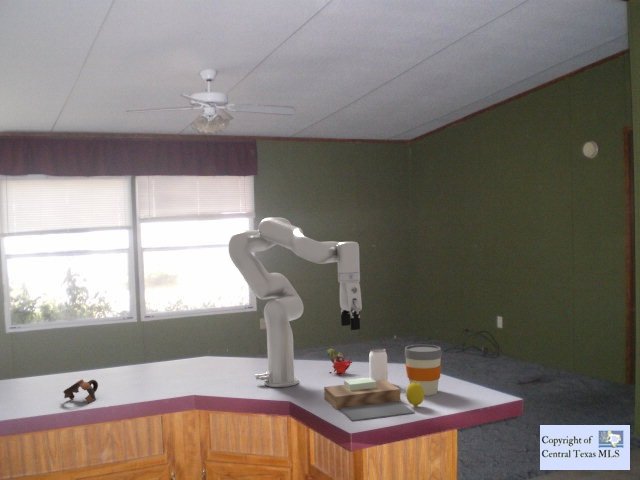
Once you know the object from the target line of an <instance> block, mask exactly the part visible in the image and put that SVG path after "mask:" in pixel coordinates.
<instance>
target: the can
mask: <svg viewBox="0 0 640 480" xmlns="http://www.w3.org/2000/svg"><path fill="white" fill-rule="evenodd" d="M369 351H370V352H369V355H368V356H369V357H368V362H369V363H368V365H369V378H371V379H373V380H374V381H382V380H386V381H388V379H389V377H388V375H389V371H388V354H387V352H386V349H385V348H372V349H370V350H369ZM388 382H389V381H388Z"/></svg>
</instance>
